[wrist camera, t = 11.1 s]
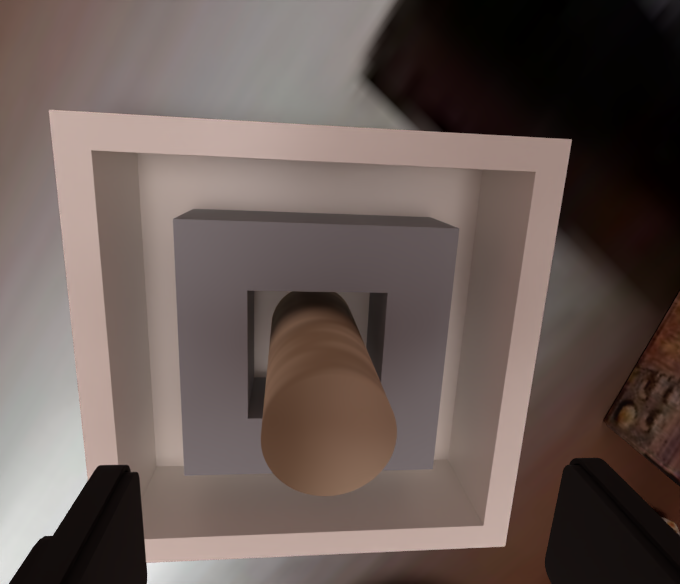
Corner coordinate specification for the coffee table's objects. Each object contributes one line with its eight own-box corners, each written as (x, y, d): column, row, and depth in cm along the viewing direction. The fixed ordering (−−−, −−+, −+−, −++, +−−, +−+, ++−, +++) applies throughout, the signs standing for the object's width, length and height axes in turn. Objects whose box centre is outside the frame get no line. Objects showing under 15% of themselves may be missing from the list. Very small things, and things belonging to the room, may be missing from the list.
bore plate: (430, 217, 23) (459, 228, 19) (410, 423, 26) (432, 469, 22) (193, 208, 21) (172, 218, 18) (200, 426, 24) (184, 475, 20)
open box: (501, 145, 23) (571, 139, 17) (460, 466, 28) (505, 546, 22) (114, 123, 21) (48, 109, 15) (139, 474, 26) (96, 565, 20)
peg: (354, 286, 23) (401, 374, 14) (350, 362, 24) (391, 494, 15) (271, 284, 23) (260, 375, 13) (271, 362, 24) (260, 498, 14)
